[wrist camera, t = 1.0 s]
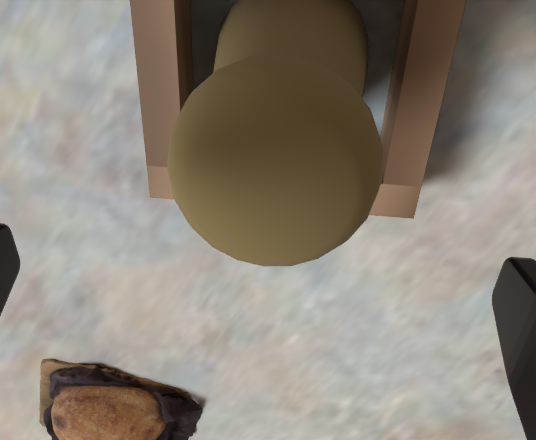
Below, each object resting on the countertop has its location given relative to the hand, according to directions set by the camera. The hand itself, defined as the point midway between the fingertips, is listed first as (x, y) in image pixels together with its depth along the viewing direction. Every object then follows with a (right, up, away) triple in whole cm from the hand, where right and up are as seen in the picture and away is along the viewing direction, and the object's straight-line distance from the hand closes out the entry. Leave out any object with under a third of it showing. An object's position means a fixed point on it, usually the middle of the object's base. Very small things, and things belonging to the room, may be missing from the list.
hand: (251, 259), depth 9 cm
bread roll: (-10, -12, +25) cm, 30 cm away
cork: (+1, +7, +11) cm, 13 cm away
